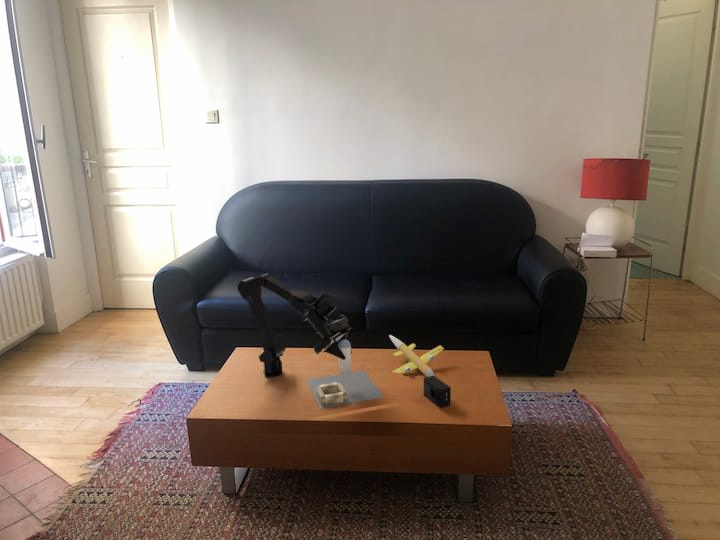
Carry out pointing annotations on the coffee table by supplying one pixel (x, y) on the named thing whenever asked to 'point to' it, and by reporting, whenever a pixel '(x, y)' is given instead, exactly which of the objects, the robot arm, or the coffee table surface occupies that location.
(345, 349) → the blue-domed white cylinder
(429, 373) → the toy airplane
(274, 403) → the coffee table surface
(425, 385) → the digital camera
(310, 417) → the coffee table surface
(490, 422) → the coffee table surface
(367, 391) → the jig board
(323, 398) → the cradle
